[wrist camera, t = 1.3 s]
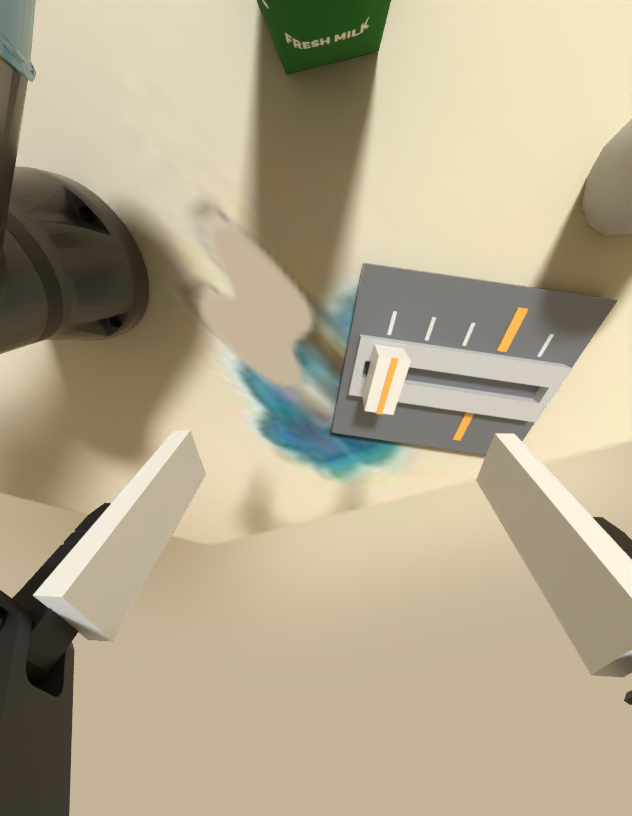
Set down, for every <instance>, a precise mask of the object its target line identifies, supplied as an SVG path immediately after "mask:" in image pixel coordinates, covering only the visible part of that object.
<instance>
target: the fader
mask: <svg viewBox="0 0 632 816" xmlns="http://www.w3.org/2000/svg"><path fill="white" fill-rule="evenodd" d="M410 363H411V360H410V358H409V357H408V355H407V353H406V352H405V350H404V349H403V348H396V347H389V346H382V345H376V344H375V345H374V349H373V353H372V357H371V361H370V365H369V370H368V374H367V378H366V382H365V386H364V390H363V394H362V397H363V403H364V410H365V411H368V412H375V413H376V414H381V415H382V414H389V415H393V414H394V411H395V408H396V405H397V402H398V399H399V396H400V393H401V390H402V387H403V384H404V381H405V378H406V375H407V372H408V369H409V366H410Z"/></svg>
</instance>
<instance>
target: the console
mask: <svg viewBox="0 0 632 816" xmlns="http://www.w3.org/2000/svg"><path fill="white" fill-rule="evenodd" d="M616 302H617V300H613V299H608V298H602V297H596V296H589V295H582V294H575V293H568V292H561V291H554V290H547V289H540V288H534V287H527V286H520V285H513V284H506V283H499V282H492V281H485V280H478V279H471V278H465V277H458V276H451V275H444V274H437V273H430V272H423V271H416V270H409V269H403V268H396V267H389V266H382V265H375V264H368V263H363V266H362V271H361V277H360V282H359V287H358V293H357V298H356V303H355V308H354V314H353V319H352V324H351V329H350V335H349V340H348V345H347V350H346V356H345V361H344V366H343V371H342V377H341V382H340V387H339V392H338V398H337V403H336V408H335V413H334V419H333V424H332V433H338V434H345V435H352V436H359V437H365V438H372V439H379V440H386V441H392V442H399V443H406V444H413V445H419V446H426V447H433V448H440V449H447V450H453V451H460V452H467V453H474V454H480V455H486V454H487V452H488V449H489V447H490V444H491V442H492V439H493V437H494V434H495V433H503V434H515V435H516V436H517V437H518V438H519V439H520V440H521V441H523V439H524V438H525V436H526V435H527V433H528V432H529V430H530V429H531V427H532V426H533V424H534V423H535V422H536V421H537V420H538V418H539V417H540V416H541V414H542V413H543V411H544V410H545V408H546V407H547V405H548V404H549V402H550V401H551V399H552V398H553V396H554V395H555V393H556V392H557V390H558V389H559V388H560V386H561V385H562V383H563V382H564V380H565V379H566V377H567V376H568V374H569V373H570V371H571V370H572V367H573V365H574V364H575V362H576V361H577V359H578V358H579V356H580V355H581V353H582V352H583V350H584V349H585V348H586V346H587V345H588V343H589V342H590V340H591V339H592V337H593V336H594V334H595V333H596V331H597V330H598V328H599V327H600V325H601V324H602V322H603V321H604V319H605V318H606V316H607V315H608V314H609V312H610V311H611V309H612V308H613V306H614V305H615V303H616ZM375 344H376V345H382V346H389V347H396V348H403V349H404V350H405V352H406V353H407V355H408V357H409V358H410V360H411V363H410V366H409V369H408V372H407V375H406V378H405V381H404V384H403V387H402V390H401V393H400V396H399V399H398V402H397V405H396V408H395V411H394V414H393V415H389V414H382V415H381V414H376V413H375V412H368V411H365V410H364V403H363V397H362V394H363V390H364V386H365V382H366V378H367V374H368V370H369V365H370V361H371V357H372V353H373V349H374V345H375Z"/></svg>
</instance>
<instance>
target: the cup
mask: <svg viewBox="0 0 632 816" xmlns="http://www.w3.org/2000/svg"><path fill="white" fill-rule="evenodd" d="M581 206H582V209H583V212H584V215H585V218H586V221H587V224H588V226H589V227H591V228H592V229H594V230H596V231H597V232H599V233H601V234H602V235H604V236H608V235H630V234H632V120H630V121H629V122H628V123H627V124H626V125H625V126H624V127H623V128H622V129H621V130H620V131H619V132H618V133H617V134H616V135H615V136H614V137H613V138H612V139H611V141H610V142H609V143H608V144H607V145H606V146H605V147H604V148H603V149H602V151H601V153H600V155H599V157H598V158H597V160H596V162H595V164H594V166H593V167H592V169H591V171H590V173H589V175H588V176H587V178H586V183H585V189H584V194H583V200H582V205H581Z"/></svg>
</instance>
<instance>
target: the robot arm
mask: <svg viewBox="0 0 632 816" xmlns="http://www.w3.org/2000/svg"><path fill="white" fill-rule="evenodd" d="M34 12H35V0H0V354H2V353H5V352H8V351H11V350H14V349H17V348H21V347H24V346H27V345H29V344H33V343H36V342H39V341H42V340H101V339H107V338H110V337H113V336H116V335H118V334H121V333H124V332H126V331H128V330H130V329H131V328H132V327H134V326H135V325H136V324H137V323H138V322H139V320H140V319H141V317H142V316H143V314H144V311H145V309H146V305H147V300H148V280H147V274H146V269H145V266H144V262H143V259H142V257H141V254H140V252H139V249H138V247H137V245H136V243H135V241H134V240H133V238H132V236H131V234H130V233H129V231H128V230H127V228H126V227H125V225H124V224H123V223H122V221H121V220H120V219H119V217H118V216H117V215H116V214H115V213H114V212H113V210H112V209H111V208H110V207H109V206H108V205H107V204H106V203H105V202H104V201H102V200H101V199H100V198H99V197H98V196H97V195H95V194H94V193H93V192H91V191H90V190H89V189H87V188H86V187H84V186H82V185H81V184H79V183H77V182H75V181H73V180H71V179H69V178H67V177H64V176H61V175H58V174H54V173H50V172H46V171H42V170H38V169H34V168H29V167H15V163H16V156H17V150H18V143H19V136H20V130H21V123H22V116H23V109H24V103H25V96H26V89H27V83H28V80H30V81H31V82H32V81H34V78H35V75H36V71H35V69H34V67H33V65H32V63H31V61H30V59H31V48H32V36H33V24H34ZM205 475H206V473H205V471H204V468H203V465H202V462H201V459H200V457H199V454H198V451H197V448H196V445H195V442H194V440H193V437H192V434H191V431H180V430H174V431H173V432H172V433H171V435H170V436H169V437H168V438H167V439H166V440H165V442H164V443H163V444H162V445H161V446H160V447H159V449H158V450H157V451H156V452H155V453H154V454H153V456H152V457H151V458H150V459H149V460H148V461H147V463H146V464H145V465H144V466H143V467H142V468H141V470H140V471H139V472H138V473H137V474H136V475H135V477H134V478H133V479H132V480H131V481H130V482H129V484H128V485H127V486H126V487H125V488H124V489H123V491H122V492H121V493H120V494H119V495H118V496H117V498H116V499H115V500H114V501H113V502H112V503H104V504H103V505H101V506H100V507H99V508H97V509H96V510H95V511H93V512H92V513H90V514H89V515H88V516H87V517H86V518H85V519H84V520H83V522H82V523H81V524H80V525H79V526H78V527H77V528H76V529H75V532H74V533H72V534H71V535H70V536H69V537H68V538H67V539H66V540H65V541H64V544H63V545H61V546H60V547H59V548H58V549H57V550H56V551H55V552H54V554H53V555H52V556H51V557H50V558H49V559H48V560H47V561H46V562H45V563H44V565H43V566H42V567H41V568H40V569H39V570H38V571H37V572H36V573H35V575H34V576H33V577H32V578H31V579H30V580H29V581H28V582H27V583H26V584H25V586H24V587H23V588H22V589H21V590H20V591H19V592H18V593H17V594H16V595H15V596H14V597H13V598H10V597H9V596H7V595H6V594H5V593H4V592H2V591H1V590H0V816H69V803H70V769H71V738H72V706H73V675H74V647H73V644H72V643H71V642H72V640H73V639H74V637H75V636H76V634H77V633H78V632H79V633H81V634H82V635H83V636H84V637H85V638H87V639H88V640H99V641H113V640H114V638H115V636H116V634H117V633H118V631H119V629H120V627H121V625H122V624H123V622H124V620H125V618H126V616H127V614H128V613H129V611H130V609H131V608H132V606H133V604H134V602H135V600H136V599H137V597H138V595H139V593H140V591H141V590H142V588H143V586H144V584H145V583H146V580H147V579H148V577H149V575H150V573H151V572H152V570H153V568H154V566H155V564H156V563H157V561H158V559H159V557H160V556H161V554H162V552H163V550H164V549H165V547H166V545H167V543H168V541H169V539H170V538H171V536H172V534H173V532H174V531H175V529H176V527H177V525H178V523H179V522H180V520H181V518H182V516H183V515H184V513H185V511H186V509H187V507H188V506H189V504H190V502H191V500H192V498H193V497H194V495H195V493H196V491H197V489H198V488H199V486H200V484H201V482H202V480H203V479H204V477H205ZM476 481H477V483H478V484H479V486H480V487H481V489H482V491H483V493H484V494H485V496H486V498H487V499H488V501H489V503H490V504H491V506H492V508H493V510H494V511H495V513H496V515H497V516H498V518H499V520H500V521H501V523H502V525H503V526H504V528H505V530H506V532H507V533H508V535H509V537H510V539H511V540H512V542H513V543H514V545H515V547H516V549H517V550H518V552H519V554H520V555H521V557H522V559H523V561H524V562H525V564H526V566H527V567H528V569H529V570H530V572H531V574H532V576H533V578H534V579H535V581H536V583H537V584H538V586H539V588H540V589H541V591H542V593H543V594H544V596H545V598H546V599H547V601H548V603H549V605H550V606H551V608H552V610H553V611H554V613H555V615H556V617H557V618H558V620H559V622H560V623H561V625H562V627H563V628H564V630H565V632H566V634H567V635H568V637H569V639H570V640H571V642H572V644H573V645H574V647H575V649H576V650H577V652H578V654H579V655H580V657H581V659H582V661H583V662H584V664H585V666H586V667H587V669H588V671H589V672H590V674H591V675H598V676H613V677H624V676H626V675H628V674H630V673H631V672H632V540H631V539H630V538H629V537H628V536H627V535H626V534H625V533H624V532H622V531H621V530H620V529H618V528H617V527H615V526H614V525H612V524H611V523H610V522H608V521H607V520H605V519H604V518H602V517H592V516H590V514H589V513H588V512H587V511H586V510H585V509H584V508H583V507H582V506H581V505H580V504H579V503H578V501H577V500H576V499H575V498H574V497H573V496H572V495H571V494H570V493H569V492H568V491H567V490H566V489H565V488H564V486H563V485H562V484H561V483H560V482H559V481H558V480H557V479H556V478H555V477H554V476H553V475H552V474H551V472H550V471H549V470H548V469H547V468H546V467H545V466H544V465H543V464H542V463H541V462H540V461H539V460H538V459H537V457H536V456H535V455H534V454H533V453H532V452H531V451H530V450H529V449H528V448H527V447H526V446H525V445H524V443H523V442H522V441H521V440H520V439H519V438H518V437H517V436H516V435H515V434H503V433H495V434H494V437H493V439H492V442H491V444H490V447H489V449H488V452H487V454H486V457H485V459H484V462H483V464H482V467H481V469H480V472H479V474H478V477H477V480H476ZM624 701H625V702H627V703H628V704H630V705H631V704H632V691H629V692H628V693H626V697H625V699H624Z"/></svg>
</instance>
